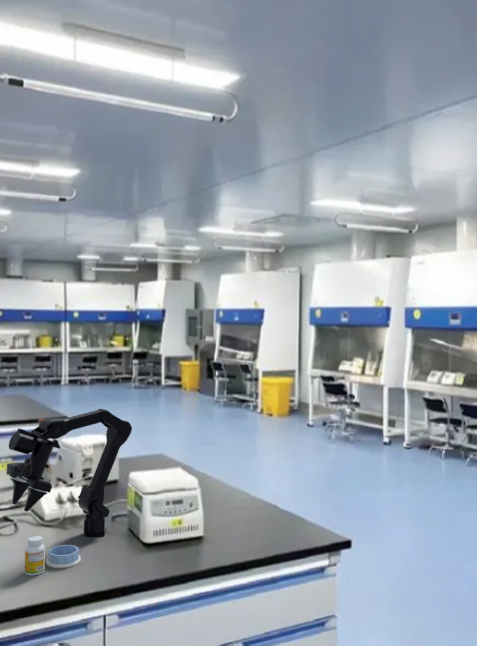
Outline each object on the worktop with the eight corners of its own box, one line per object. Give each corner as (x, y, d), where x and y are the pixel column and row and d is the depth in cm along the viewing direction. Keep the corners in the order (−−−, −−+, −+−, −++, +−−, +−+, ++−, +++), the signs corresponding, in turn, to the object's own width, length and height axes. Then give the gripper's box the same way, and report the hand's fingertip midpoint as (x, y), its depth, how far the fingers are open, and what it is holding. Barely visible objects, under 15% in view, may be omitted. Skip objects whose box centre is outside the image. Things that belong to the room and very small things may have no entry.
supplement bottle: (27, 568, 177) (27, 534, 177) (46, 568, 178) (46, 534, 177) (22, 576, 172) (22, 541, 172) (42, 575, 172) (42, 541, 172)
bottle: (27, 483, 266) (28, 418, 266) (37, 477, 275) (38, 415, 275) (46, 484, 265) (46, 419, 264) (55, 478, 273) (56, 416, 273)
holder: (82, 554, 188) (83, 543, 188) (78, 567, 178) (78, 556, 178) (49, 555, 187) (49, 544, 187) (43, 568, 177) (43, 557, 177)
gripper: (4, 446, 195) (-16, 494, 191) (28, 456, 181) (7, 509, 177) (35, 455, 201) (16, 502, 197) (61, 466, 188) (41, 517, 184)
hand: (19, 507), depth 189 cm, fingers open, 9 cm apart
